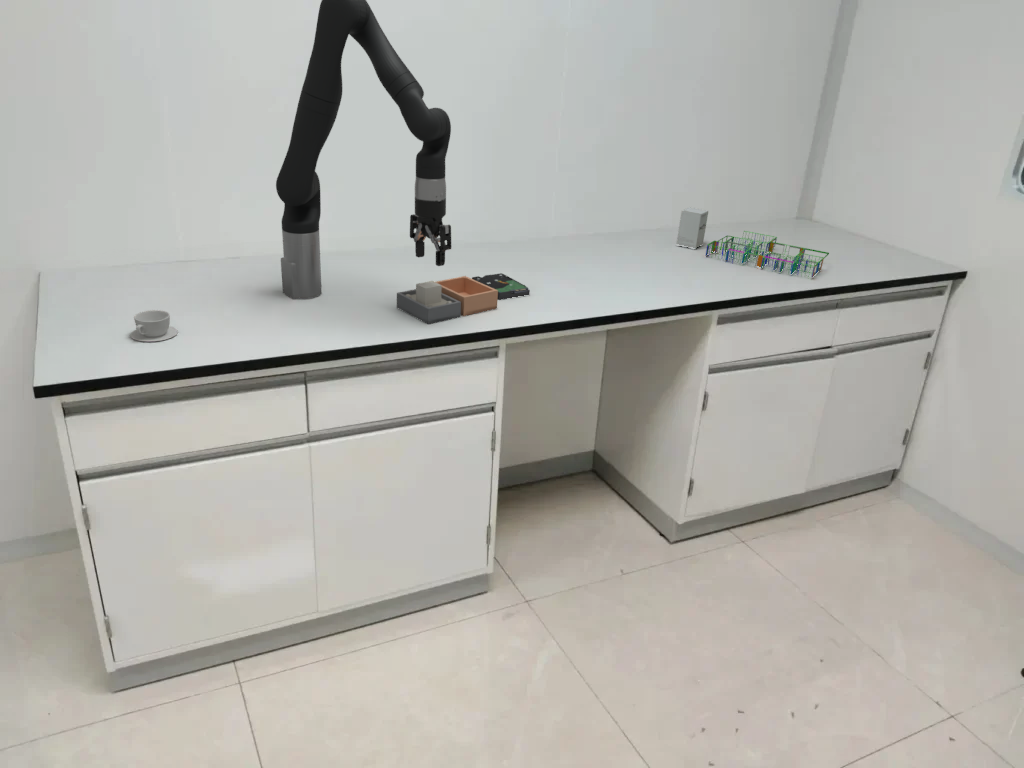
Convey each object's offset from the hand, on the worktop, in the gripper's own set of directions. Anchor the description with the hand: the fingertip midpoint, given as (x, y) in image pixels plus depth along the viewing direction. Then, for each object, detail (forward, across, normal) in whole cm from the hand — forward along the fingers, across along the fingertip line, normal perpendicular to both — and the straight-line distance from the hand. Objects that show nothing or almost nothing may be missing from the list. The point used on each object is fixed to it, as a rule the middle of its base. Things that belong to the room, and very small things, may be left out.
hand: (430, 261), depth 202 cm
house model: (+15, +17, +128) cm, 130 cm away
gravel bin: (+14, 0, 0) cm, 14 cm away
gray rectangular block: (+10, 0, 0) cm, 11 cm away
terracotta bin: (+14, 0, +11) cm, 18 cm away
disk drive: (+14, -4, +27) cm, 31 cm away
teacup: (+13, -21, -62) cm, 66 cm away
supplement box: (+15, -7, +116) cm, 117 cm away
